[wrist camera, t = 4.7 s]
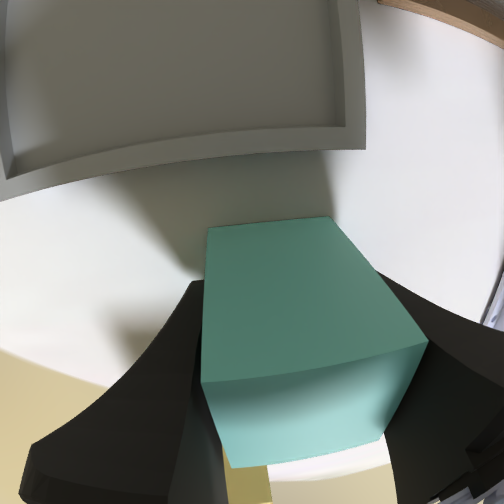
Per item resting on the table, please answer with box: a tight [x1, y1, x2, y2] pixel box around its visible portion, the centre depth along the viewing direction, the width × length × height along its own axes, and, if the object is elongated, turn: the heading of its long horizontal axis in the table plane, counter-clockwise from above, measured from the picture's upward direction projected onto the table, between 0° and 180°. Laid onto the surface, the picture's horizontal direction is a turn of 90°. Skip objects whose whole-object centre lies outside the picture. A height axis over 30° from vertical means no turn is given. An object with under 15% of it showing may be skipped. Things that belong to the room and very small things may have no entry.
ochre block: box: [222, 445, 273, 504], centre depth 12 cm, size 4×4×6 cm
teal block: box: [201, 216, 429, 468], centre depth 8 cm, size 4×4×6 cm
